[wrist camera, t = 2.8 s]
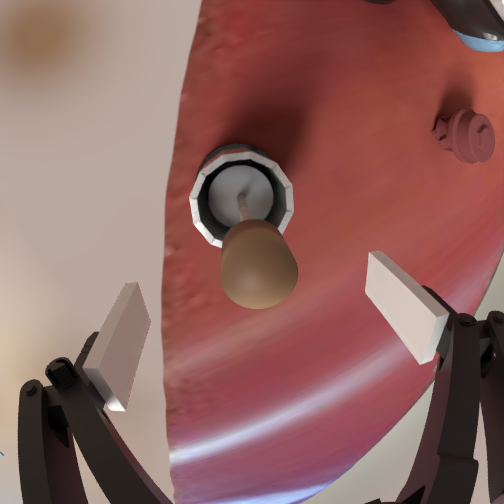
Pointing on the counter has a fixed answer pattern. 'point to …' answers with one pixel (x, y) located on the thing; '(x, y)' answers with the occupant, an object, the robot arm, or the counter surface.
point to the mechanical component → (466, 135)
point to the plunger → (251, 240)
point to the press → (234, 157)
